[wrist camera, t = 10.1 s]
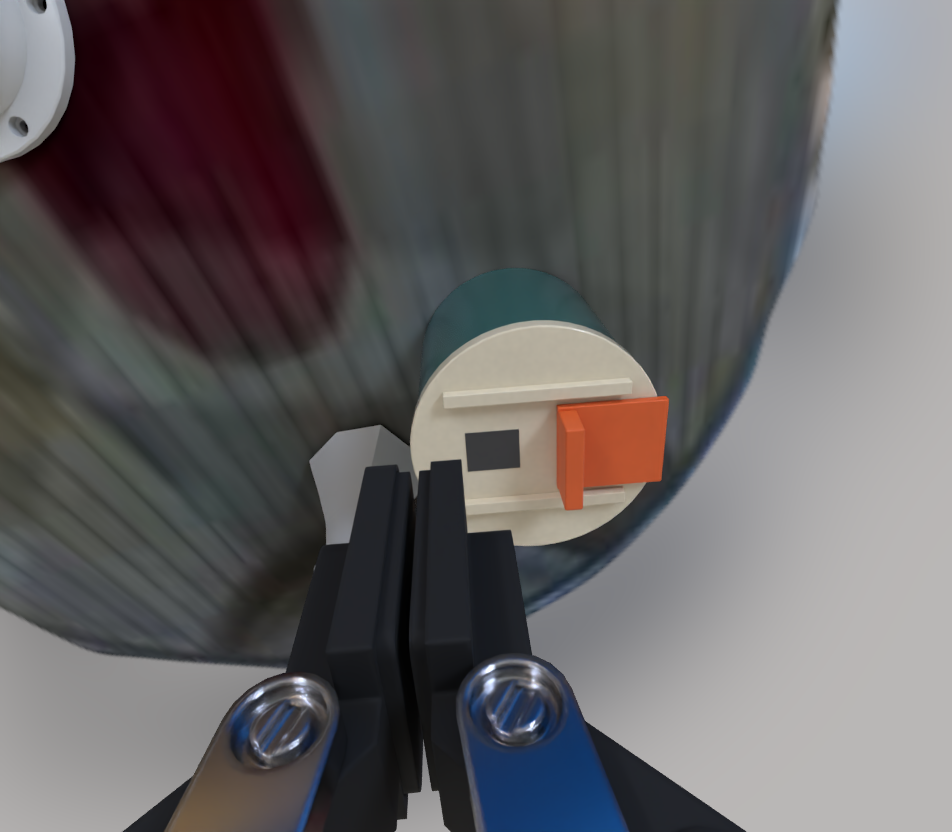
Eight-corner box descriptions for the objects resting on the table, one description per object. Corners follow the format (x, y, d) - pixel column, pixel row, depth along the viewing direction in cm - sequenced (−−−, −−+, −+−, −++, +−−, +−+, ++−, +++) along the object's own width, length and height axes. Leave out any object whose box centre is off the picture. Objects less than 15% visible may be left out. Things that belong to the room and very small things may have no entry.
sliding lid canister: (428, 445, 39) (423, 562, 29) (408, 271, 33) (393, 340, 23) (601, 431, 39) (656, 543, 29) (608, 256, 34) (679, 319, 24)
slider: (556, 485, 27) (565, 513, 26) (556, 404, 26) (565, 428, 24) (658, 476, 28) (675, 504, 26) (666, 395, 26) (684, 419, 24)
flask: (290, 454, 38) (244, 557, 30) (385, 405, 37) (368, 497, 28) (351, 531, 42) (327, 645, 33) (442, 488, 40) (442, 595, 31)
